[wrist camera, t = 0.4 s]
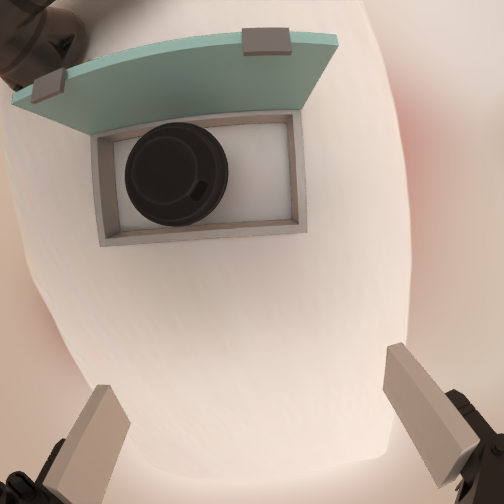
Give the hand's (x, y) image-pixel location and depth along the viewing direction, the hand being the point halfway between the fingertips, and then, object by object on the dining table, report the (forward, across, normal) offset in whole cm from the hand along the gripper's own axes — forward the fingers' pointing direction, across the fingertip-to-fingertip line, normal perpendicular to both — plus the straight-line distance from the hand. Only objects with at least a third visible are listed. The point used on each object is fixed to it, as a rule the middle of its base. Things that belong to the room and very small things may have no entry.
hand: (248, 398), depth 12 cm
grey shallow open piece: (+29, -4, +10) cm, 31 cm away
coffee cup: (+29, -4, +10) cm, 31 cm away
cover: (+24, -4, +18) cm, 30 cm away
